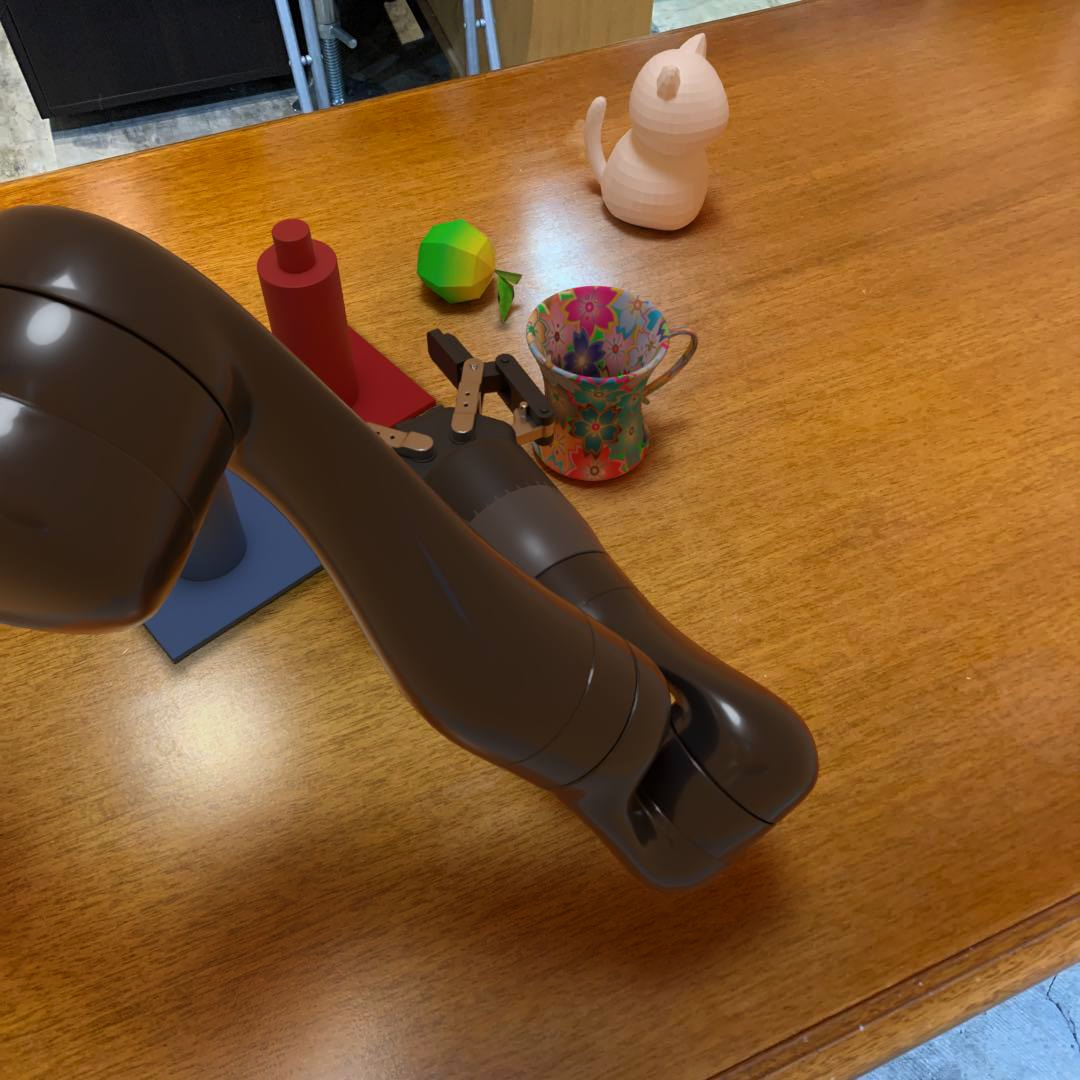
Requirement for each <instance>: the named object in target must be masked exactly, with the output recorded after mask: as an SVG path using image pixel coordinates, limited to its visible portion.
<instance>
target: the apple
mask: <svg viewBox="0 0 1080 1080" xmlns="http://www.w3.org/2000/svg"><path fill="white" fill-rule="evenodd" d="M416 264H417V265H416V274H417V276H418V278H420V280H421V281H422V282H423V284H424V285H425V286H426V287H427V288H429V290H431V291H432V292H434V293H436V295H438V296H439V297H441V298H442V299H443V300H445V301H446V302H447V303H448V304H450V305H451V304H456V303H462V302H468V301H472V300H477V299H480V298H481V297H482V295H483V294H484V293H485V290H486V289H487V287H488V286H489V285H490V283H491V282H492V279H493V277H494V275H495V274H496V275H497V286H496V287H497V288H496V290H497V303H498V306H499V312H500V316H501V320H502V324H504V323H505V320H506V318H507V315H508V313H509V310H510V309H511V306H512V304H513V301H514V299H515V288H514V287H515V286H516V285H519V283H520V280H521V279H522V277H523V274H521V273H517V272H516V273H515V272H510V271H505V270H501V269H496V249H495V248H494V246H493V243H492V241H490V239H489V237H488V236H486V235H485V234H484V233H482V232H481V231H480V230H479V229H477V228H476V227H474V226H473V225H472V224H470V223H468V222H467V221H466V220H465V219H464V218H460V219H456V220H451V221H447V222H443V223H437V224H433V225H432V226H431V228H430V229H429V230H428V232H427V233H426V234H425V236H424V237H423V239H422V240H421V241H420V242H419V248H418V252H417V263H416ZM514 285H515V286H514Z"/></svg>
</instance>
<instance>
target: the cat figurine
mask: <svg viewBox="0 0 1080 1080" xmlns="http://www.w3.org/2000/svg"><path fill="white" fill-rule="evenodd" d="M707 43H708V42H707V37H706V35H705V33H704V32H701V33H697V34H695V35H693V36H692V37H690V38H688V39H687V40H686V41H685V42H684V43H683V44H682V45H681V46H679V48H670V49H666V50H664V51H661V52H659V53H656V54H655V55H654V56H652V57H651V58H650V59H648V60H647V62H645V64H644V65H643V66H642V68H641V69H640V71H639V72H638V74H637V76H636V78H635V80H634V82H633V84H632V87H631V92H630V95H629V100H628V119H629V123H630V125H631V128H629V129H628V130H627V132H626V133H625V134H623V136H621V137H620V139H618V141H617V142H616V144H615V145H614V148H613V149H612V151H611V153H610V155H609V157H608V160H606V158H605V155H604V151H603V146H602V127H603V122H604V120H605V119H604V118H605V114H606V111H607V105H608V104H607V99H606V98H605V96H602V95H601V96H597V97H595V98H594V100H593V101H592V102H591V104H590V105H589V108H588V110H587V112H586V116H585V119H584V126H583V127H584V128H583V135H584V137H583V139H584V145H585V146H584V148H585V153H586V157H587V162H588V164H589V168H590V170H591V173H592V175H593V177H594V179H595V180H596V181H597V183H598V184H599V185H600V191H601V196H602V201H603V203H604V205H605V206H606V208H607V210H608V211H609V212H610V214H611V215H612V216H614V217H615V218H616V219H619V220H621V221H623V222H625V223H627V224H631V225H634V226H637V227H643V228H647V229H654V230H659V231H676V230H679V229H682V228H684V227H686V226H688V225H689V224H690V223H692V221H694V220H695V219H696V218H697V216H698V215H699V214H700V211H701V209H702V207H703V205H704V203H705V199H706V196H707V192H708V188H709V178H710V177H709V175H710V174H709V170H710V169H709V168H710V167H709V162H708V156H707V152H706V149H707V148H708V147H710V146H711V145H712V144H714V143H715V142H716V141H717V140H718V139H720V137H721V136H722V135H723V134H724V132H725V131H726V129H727V127H728V125H729V119H730V107H729V106H730V105H729V100H728V97H727V93H726V90H725V88H724V85H723V82H722V80H721V78H720V77H719V74H718V73H717V70H716V69H715V68H714V67H713V65H712V64H711V63H710V62H709V61H708V60H707V46H708V45H707Z"/></svg>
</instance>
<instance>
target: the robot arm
mask: <svg viewBox="0 0 1080 1080" xmlns="http://www.w3.org/2000/svg"><path fill="white" fill-rule="evenodd" d="M426 343H427V352H428V356H429V358H430V359H431V361H432V362H433V363H434V364H435V365H436V367H437V369H439V371H440V372H442V374H443V375H444V376H445V377H446V379H447V380H448V381H449V382H450V383H451V384H452V386H454V388H455V389H456V390H457V393H456V399H455V405H454V406H447V407H445V406H444V405H443V404H439V405H437V406H435V407H432V408H429V410H426V412H425V413H423V414H421V416H418V417H417V416H416V417H413V418H412V419H408V420H405V421H402V422H400V423H398V424H395V429H392V428H388V427H384V426H381V425H377V424H374V423H370V422H365V421H364V420H363V419H362V418H361V417H360V416H358V415H357V414H356V413H355V412H354V411H353V410H352V409H351V408H350V407H349V406H348V405H347V404H346V403H345V402H343V401H342V400H341V399H340V398H339V397H338V396H337V395H336V394H335V393H334V392H333V391H332V390H331V389H330V388H329V387H328V386H327V385H326V384H325V383H324V382H323V381H321V380H320V379H319V378H318V377H317V376H316V375H315V374H314V373H313V372H312V371H311V370H310V369H309V368H308V367H307V366H306V365H305V364H304V363H303V362H302V361H301V360H300V359H299V358H297V357H296V356H295V355H294V354H293V353H292V352H291V351H290V350H289V349H288V348H287V347H286V346H285V345H284V344H283V343H282V342H281V341H280V340H279V339H278V338H277V337H275V336H274V335H273V334H272V331H271V330H269V329H268V327H267V326H265V325H264V324H263V323H262V322H261V321H260V320H259V319H257V317H255V316H254V315H253V314H252V313H251V312H250V311H248V309H246V308H245V307H244V306H243V305H242V304H240V303H239V302H238V301H237V300H236V299H235V298H233V297H232V295H230V294H229V293H228V292H227V291H225V290H224V289H223V288H222V287H221V286H219V284H217V283H216V282H215V281H213V280H212V279H211V278H209V277H208V276H206V275H205V274H203V273H202V272H201V271H200V270H199V269H197V268H196V267H195V266H193V265H192V264H190V263H189V262H188V261H186V260H184V259H183V258H181V257H180V256H178V255H176V254H175V253H174V252H172V251H171V250H169V249H167V248H165V247H164V246H162V245H161V244H159V243H157V242H156V241H154V240H153V239H151V238H150V237H148V236H147V235H145V234H142V233H141V232H139V231H137V230H134V229H132V228H130V227H127V226H126V225H123V224H121V223H119V222H116V221H115V220H113V219H109V218H108V217H104V216H102V215H98V214H96V213H92V212H88V211H85V210H80V209H76V208H72V207H69V206H63V205H54V204H24V205H23V204H22V205H18V206H13V207H9V208H5V209H1V210H0V624H2V625H5V626H9V627H15V628H20V629H21V628H22V629H26V630H32V631H37V632H38V631H39V632H45V633H54V634H61V635H70V636H71V635H72V636H74V635H75V636H79V635H80V636H98V635H99V636H100V635H108V634H115V633H123V632H125V631H129V630H131V629H134V628H137V627H139V626H142V625H144V624H143V623H145V622H146V621H147V620H149V619H150V618H152V617H153V616H154V615H155V614H156V613H157V612H158V610H159V609H160V607H161V606H162V605H163V603H164V602H165V600H166V599H167V598H168V596H169V594H170V593H171V591H172V589H173V588H174V586H175V584H176V582H177V580H178V578H179V576H180V574H181V572H182V570H183V568H184V566H185V564H186V562H187V560H188V558H189V556H190V553H191V551H192V549H193V547H194V545H195V542H196V537H197V535H198V533H199V530H200V528H201V526H202V523H203V521H204V519H205V516H206V514H207V512H208V509H209V507H210V505H211V502H212V500H213V498H214V495H215V493H216V491H217V488H218V486H219V484H220V481H221V479H222V477H223V474H224V472H225V470H226V469H227V470H228V471H230V472H231V473H233V474H234V475H236V476H237V477H238V478H240V479H241V480H243V481H244V482H245V483H247V484H248V485H249V486H250V487H252V488H253V489H254V490H255V491H257V492H258V493H259V494H260V495H261V496H263V497H264V498H265V499H266V500H267V501H268V502H269V503H270V504H271V505H272V506H273V507H275V508H276V509H277V510H278V511H279V512H280V513H281V514H282V515H283V516H284V517H285V518H286V520H287V521H288V522H289V523H290V524H291V525H292V526H293V528H294V529H295V530H296V531H297V532H298V533H299V535H300V536H301V537H302V538H303V540H304V541H305V543H306V544H307V545H308V547H309V548H310V549H311V551H312V552H313V554H314V555H315V556H316V558H317V559H318V560H319V562H320V563H321V564H322V566H323V567H324V568H323V569H324V570H325V572H326V574H327V575H328V576H329V578H330V580H331V581H332V583H333V584H334V586H335V588H336V589H337V591H338V593H339V594H340V596H341V598H342V599H343V601H344V603H345V604H346V606H347V607H348V609H349V612H351V615H352V616H353V618H354V620H355V622H356V623H357V625H358V626H359V628H360V630H361V632H362V633H363V634H362V635H364V637H365V639H366V640H367V642H368V644H369V645H370V647H371V649H372V650H373V652H374V654H375V655H376V658H378V660H379V662H380V664H381V666H382V668H383V669H384V670H385V672H386V674H387V675H388V677H389V678H390V680H391V682H392V683H393V684H394V686H395V687H396V689H397V690H398V691H399V693H400V694H401V696H402V697H403V698H404V699H405V701H406V702H407V703H409V705H410V706H411V707H412V709H414V711H415V712H416V713H417V714H418V715H419V716H420V717H421V718H422V719H423V720H424V721H425V722H426V723H427V724H428V725H429V726H430V727H431V728H433V729H434V730H435V731H436V732H437V733H439V734H440V735H441V736H442V737H443V738H445V739H446V740H448V741H450V742H451V743H453V744H455V746H457V747H459V748H460V749H462V750H464V751H466V752H468V753H470V754H472V755H474V756H475V757H477V758H480V760H482V761H486V762H488V763H490V764H492V765H493V766H495V767H498V768H499V769H502V770H504V771H505V772H508V773H510V774H511V775H513V776H515V777H517V778H519V779H521V780H524V781H525V782H527V783H529V784H531V785H533V786H535V787H537V788H539V789H541V790H543V791H545V792H547V793H548V794H550V795H551V796H552V797H553V798H555V799H556V800H557V801H558V802H559V803H561V804H562V806H564V807H565V808H566V809H567V810H568V811H570V813H572V814H573V815H574V816H575V817H576V818H577V819H579V820H580V821H581V823H583V824H584V825H585V826H586V827H587V828H588V829H589V830H590V831H591V832H592V833H593V834H594V835H595V836H596V837H597V839H598V840H600V842H601V843H602V844H603V846H604V847H605V848H606V849H607V851H609V853H610V854H611V855H612V856H613V857H614V859H615V860H616V861H617V862H618V864H619V865H620V866H621V867H622V868H623V869H624V870H625V872H627V874H629V875H630V876H631V877H632V878H633V879H634V880H635V881H636V882H638V883H639V884H641V885H642V886H643V887H645V888H647V889H649V890H651V891H653V892H656V893H659V894H665V895H687V894H691V893H695V892H698V891H701V890H704V889H705V888H707V887H709V886H710V885H712V884H713V883H715V882H716V881H717V880H718V879H720V877H722V876H723V875H724V874H725V873H726V872H727V871H728V870H729V869H730V868H731V867H733V865H735V863H736V862H737V861H739V859H741V858H742V857H743V856H744V855H745V854H746V853H747V852H748V851H749V850H751V849H752V848H753V847H754V846H756V844H757V843H759V842H760V841H761V840H762V839H763V838H764V837H765V836H766V835H767V834H769V833H770V832H771V831H772V830H773V829H774V828H775V827H776V826H777V824H779V823H781V822H782V821H783V820H784V819H785V818H786V817H787V816H789V815H790V814H791V813H792V812H793V811H794V810H795V809H796V808H798V807H799V805H801V804H802V802H804V801H805V800H806V799H807V797H809V795H810V794H811V793H812V791H813V790H814V788H815V786H816V784H817V781H818V778H819V772H820V761H819V759H820V758H819V753H818V748H817V744H816V741H815V739H814V736H813V734H812V732H811V730H810V728H809V726H808V724H807V722H806V721H805V720H804V719H803V717H802V716H801V715H800V713H799V712H798V711H797V710H796V709H795V708H793V706H792V705H791V704H789V703H788V702H787V701H786V700H784V699H783V698H782V697H780V696H779V695H778V694H776V693H775V692H773V691H772V690H770V689H769V688H767V687H766V686H764V685H763V684H761V683H759V682H758V681H756V680H755V679H753V678H752V677H750V676H748V675H746V674H745V673H743V672H741V671H740V670H738V669H736V668H734V667H733V666H732V665H729V664H728V663H727V662H725V661H724V660H722V659H721V658H719V657H717V656H716V655H714V654H713V653H712V652H710V651H708V650H706V649H705V648H703V647H702V646H701V645H700V644H698V643H697V642H696V641H694V640H693V639H691V638H690V637H689V636H687V634H685V633H684V632H683V631H681V630H680V629H679V628H678V627H677V626H675V624H673V623H672V622H671V621H669V620H668V619H667V618H666V617H665V616H664V615H663V614H662V613H661V612H660V611H659V610H658V609H657V608H656V607H655V606H654V605H653V604H652V603H651V602H650V600H648V598H647V597H646V596H645V595H644V594H643V592H642V591H641V590H640V589H639V588H638V587H637V585H636V584H634V582H633V581H632V580H631V579H630V577H629V576H628V575H627V574H626V573H625V571H623V570H622V568H621V567H620V566H619V565H618V563H617V562H616V561H615V560H614V559H613V558H612V557H611V555H610V554H609V552H608V551H607V550H606V549H605V547H604V545H603V544H602V543H601V541H600V538H599V537H598V536H597V534H596V533H595V532H594V530H593V528H592V527H591V525H590V524H589V523H588V522H587V520H586V519H585V517H583V515H582V514H581V513H580V512H579V511H578V509H576V507H575V506H574V505H573V504H572V503H571V501H569V500H568V498H567V497H566V496H565V495H564V493H563V492H562V491H561V490H560V489H559V488H558V487H557V485H556V484H555V483H554V482H553V481H552V480H551V478H549V476H548V474H546V472H545V471H544V470H543V469H542V468H541V467H540V465H539V464H538V463H537V462H536V461H535V460H534V459H533V457H532V456H531V455H530V454H529V453H528V452H527V451H526V450H525V448H524V447H523V445H527V444H529V443H532V441H534V442H535V443H536V444H537V445H539V446H548V445H550V444H552V442H553V440H554V418H555V409H554V407H553V405H552V404H551V403H550V402H549V400H548V399H547V398H546V397H545V393H543V392H542V390H541V389H540V388H539V386H538V385H537V384H536V383H535V382H534V381H533V379H532V377H530V375H529V374H528V373H527V371H526V370H525V369H524V367H522V365H521V364H520V363H519V361H518V360H517V359H516V358H515V356H514V355H512V354H510V353H501V354H498V355H497V356H496V357H495V358H494V360H493V361H483V360H482V359H480V358H477V357H474V356H473V355H472V354H471V352H470V351H469V350H468V349H467V348H466V347H465V346H464V345H463V343H462V342H461V341H460V340H459V339H458V338H457V337H456V335H453V334H451V333H450V332H446V333H443V332H442V330H441V329H440V328H438V327H437V328H434V329H432V330H430V331H427V332H426ZM492 393H496V394H497V395H498V397H499V398H500V400H502V402H503V403H504V404H505V406H506V407H507V408H508V410H509V411H510V412H511V413H512V415H513V424H510V423H509V422H506V421H504V420H501V419H498V418H495V417H491V416H488V415H483V409H484V403H485V395H486V394H492ZM671 695H672V697H673V699H674V701H673V702H672V697H671Z"/></svg>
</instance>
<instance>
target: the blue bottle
mask: <svg viewBox="0 0 1080 1080" xmlns="http://www.w3.org/2000/svg"><path fill="white" fill-rule="evenodd" d="M246 546H247V541H246V536H245V533H244V530H243V527H242V524H241V521H240V518H239V515H238V512H237V508H236V505H235V502H234V499H233V496H232V493H231V490H230V487H229V484H228V481H227V477H226V474H225V472H224V474H223V477H222V479H221V481H220V484H219V486H218V488H217V491H216V493H215V495H214V498H213V500H212V502H211V505H210V507H209V509H208V512H207V514H206V516H205V519H204V521H203V523H202V526H201V528H200V530H199V533H198V535H197V537H196V542H195V545H194V547H193V549H192V551H191V553H190V556H189V558H188V560H187V562H186V564H185V566H184V568H183V570H182V572H181V574H180V576H181V577H183V578H186V579H190V580H197V581H202V580H210V579H214V578H217V577H220V576H222V575H224V574H226V573H228V572H229V571H231V570H232V569H233V568H234V567H236V566H237V565H238V563H239V562H240V561H241V559H242V558H243V556H244V554H245V551H246Z"/></svg>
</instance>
